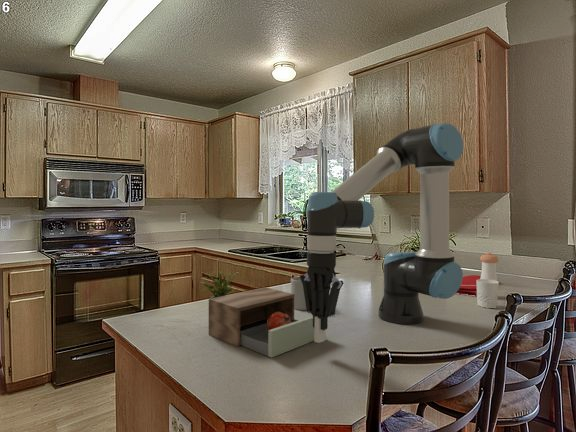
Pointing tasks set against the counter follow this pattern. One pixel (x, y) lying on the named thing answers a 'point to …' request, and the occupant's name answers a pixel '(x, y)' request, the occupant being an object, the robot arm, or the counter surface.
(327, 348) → the counter surface
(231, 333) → the cabinet box
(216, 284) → the house plant
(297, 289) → the mug
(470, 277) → the dish drying mat
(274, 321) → the pomegranate
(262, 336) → the drawer
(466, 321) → the counter surface
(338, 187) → the robot arm
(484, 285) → the white cup
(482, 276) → the pepper shaker
